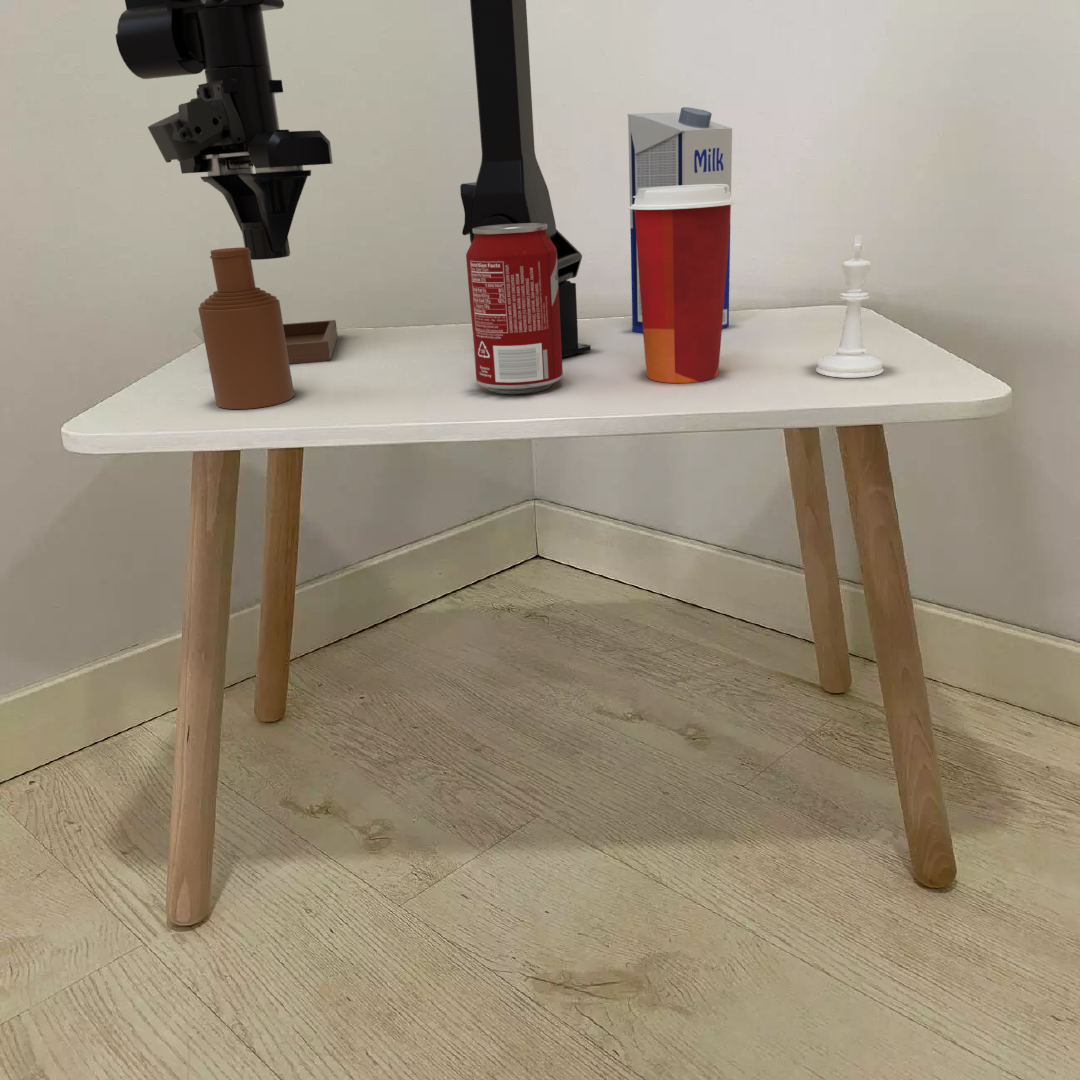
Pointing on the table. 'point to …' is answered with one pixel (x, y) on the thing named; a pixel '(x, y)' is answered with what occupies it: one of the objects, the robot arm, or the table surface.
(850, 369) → the chess piece
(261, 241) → the cap
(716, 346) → the paper cup
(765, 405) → the table surface
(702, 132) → the milk carton
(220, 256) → the bottle
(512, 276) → the soda can
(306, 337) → the tray
